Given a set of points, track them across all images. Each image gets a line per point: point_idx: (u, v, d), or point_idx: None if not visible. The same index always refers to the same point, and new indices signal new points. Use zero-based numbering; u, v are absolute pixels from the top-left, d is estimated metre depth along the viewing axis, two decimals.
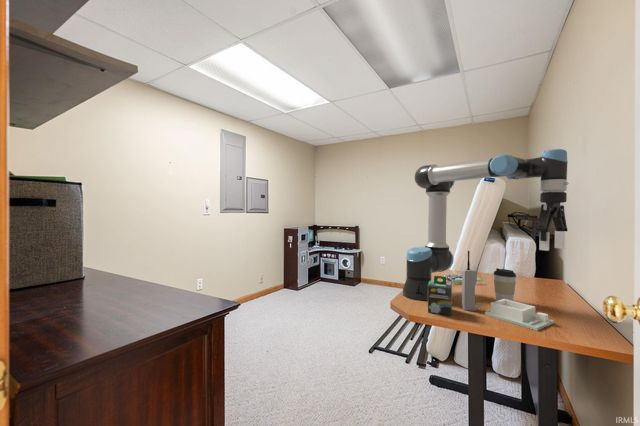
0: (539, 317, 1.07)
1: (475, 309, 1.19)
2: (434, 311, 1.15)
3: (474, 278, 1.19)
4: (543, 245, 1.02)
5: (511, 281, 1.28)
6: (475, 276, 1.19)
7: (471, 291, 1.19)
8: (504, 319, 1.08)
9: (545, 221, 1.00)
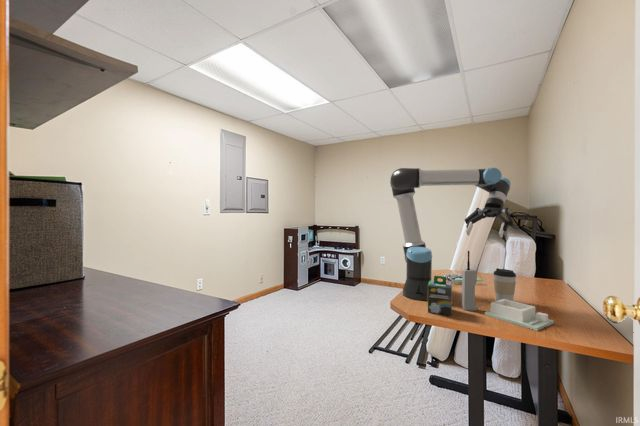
0: (539, 317, 1.07)
1: (475, 309, 1.19)
2: (434, 311, 1.15)
3: (474, 278, 1.19)
4: (502, 232, 1.24)
5: (511, 281, 1.28)
6: (475, 276, 1.19)
7: (471, 291, 1.19)
8: (504, 319, 1.08)
9: None
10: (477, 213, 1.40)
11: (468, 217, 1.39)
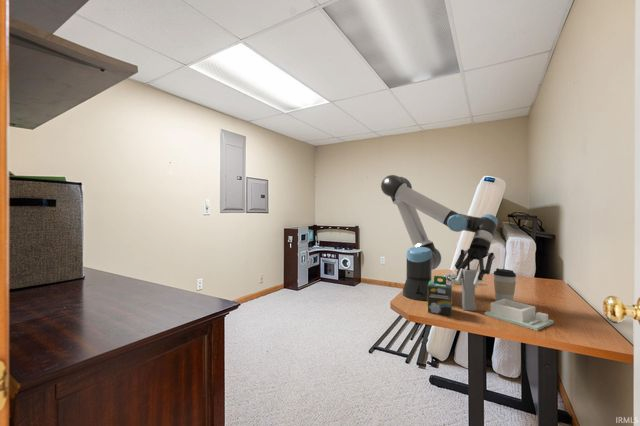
0: (539, 317, 1.07)
1: (475, 309, 1.19)
2: (434, 311, 1.15)
3: (474, 278, 1.19)
4: (477, 282, 1.17)
5: (511, 281, 1.28)
6: (475, 276, 1.19)
7: (471, 291, 1.19)
8: (504, 319, 1.08)
9: (490, 268, 1.19)
10: (464, 255, 1.29)
11: (457, 262, 1.27)
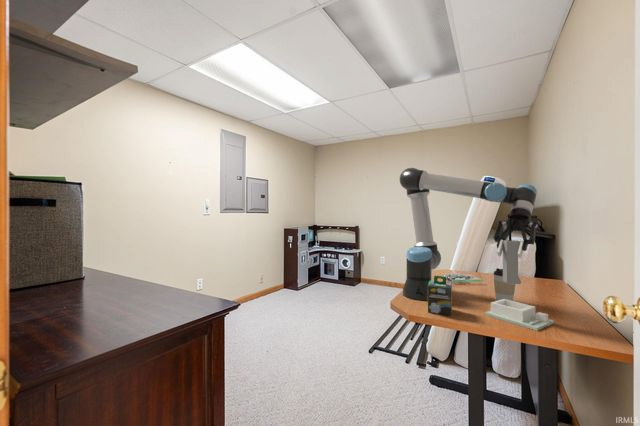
0: (539, 317, 1.07)
1: (519, 282, 1.10)
2: (434, 311, 1.15)
3: (517, 249, 1.11)
4: (521, 252, 1.08)
5: None
6: (518, 246, 1.10)
7: (513, 263, 1.11)
8: (504, 319, 1.08)
9: (534, 237, 1.11)
10: (502, 227, 1.21)
11: (496, 233, 1.19)
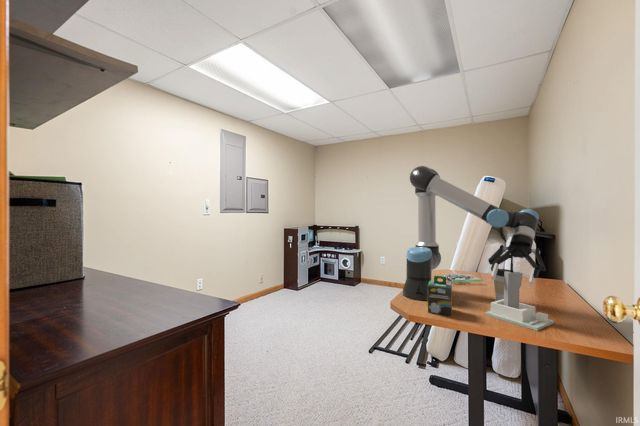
0: (539, 317, 1.07)
1: None
2: (434, 311, 1.15)
3: (518, 281, 1.10)
4: (532, 280, 1.06)
5: None
6: (520, 279, 1.10)
7: (515, 295, 1.11)
8: (504, 319, 1.08)
9: None
10: (502, 251, 1.21)
11: (492, 257, 1.21)
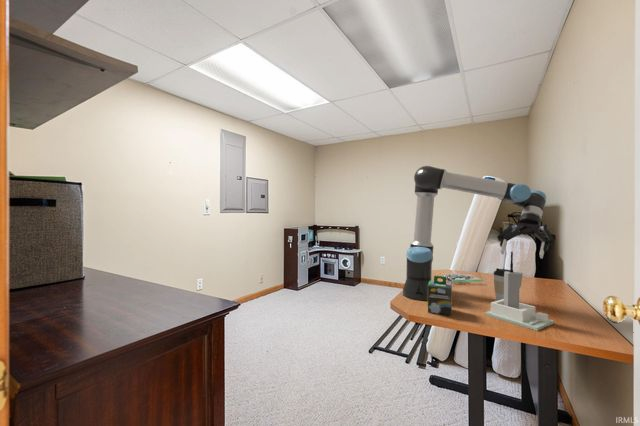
0: (539, 317, 1.07)
1: None
2: (434, 311, 1.15)
3: (518, 281, 1.10)
4: (542, 253, 1.14)
5: None
6: (520, 279, 1.10)
7: (515, 296, 1.11)
8: (504, 319, 1.08)
9: None
10: (511, 229, 1.29)
11: (501, 234, 1.29)
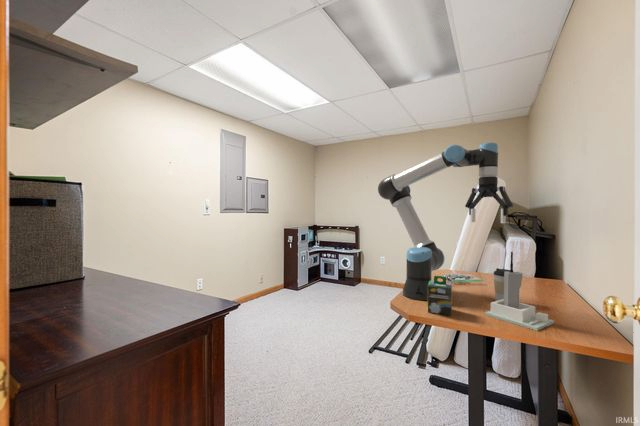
0: (539, 317, 1.07)
1: None
2: (434, 311, 1.15)
3: (518, 281, 1.10)
4: (503, 219, 1.26)
5: None
6: (520, 279, 1.10)
7: (515, 296, 1.11)
8: (504, 319, 1.08)
9: (509, 199, 1.25)
10: (475, 194, 1.37)
11: (467, 202, 1.38)
